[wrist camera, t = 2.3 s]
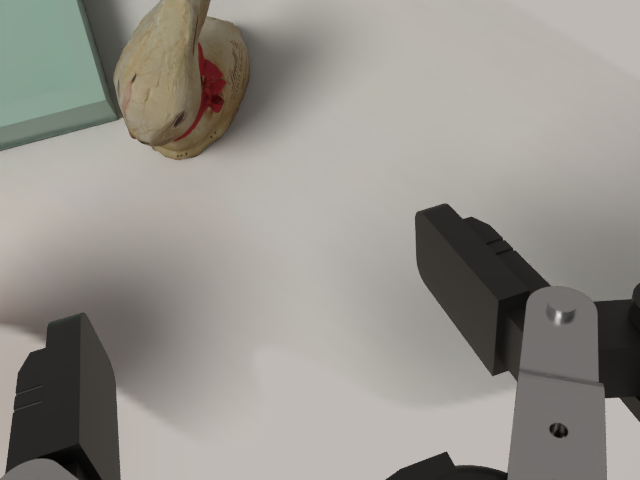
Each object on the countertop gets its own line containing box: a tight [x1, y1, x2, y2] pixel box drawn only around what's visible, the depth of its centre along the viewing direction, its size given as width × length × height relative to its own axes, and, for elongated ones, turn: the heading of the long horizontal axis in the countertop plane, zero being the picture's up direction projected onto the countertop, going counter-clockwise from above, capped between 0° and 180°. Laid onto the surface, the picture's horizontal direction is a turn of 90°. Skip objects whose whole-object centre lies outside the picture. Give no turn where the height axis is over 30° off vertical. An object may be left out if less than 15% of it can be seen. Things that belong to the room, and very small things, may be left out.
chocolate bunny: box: [113, 0, 250, 160], centre depth 26 cm, size 6×8×10 cm
